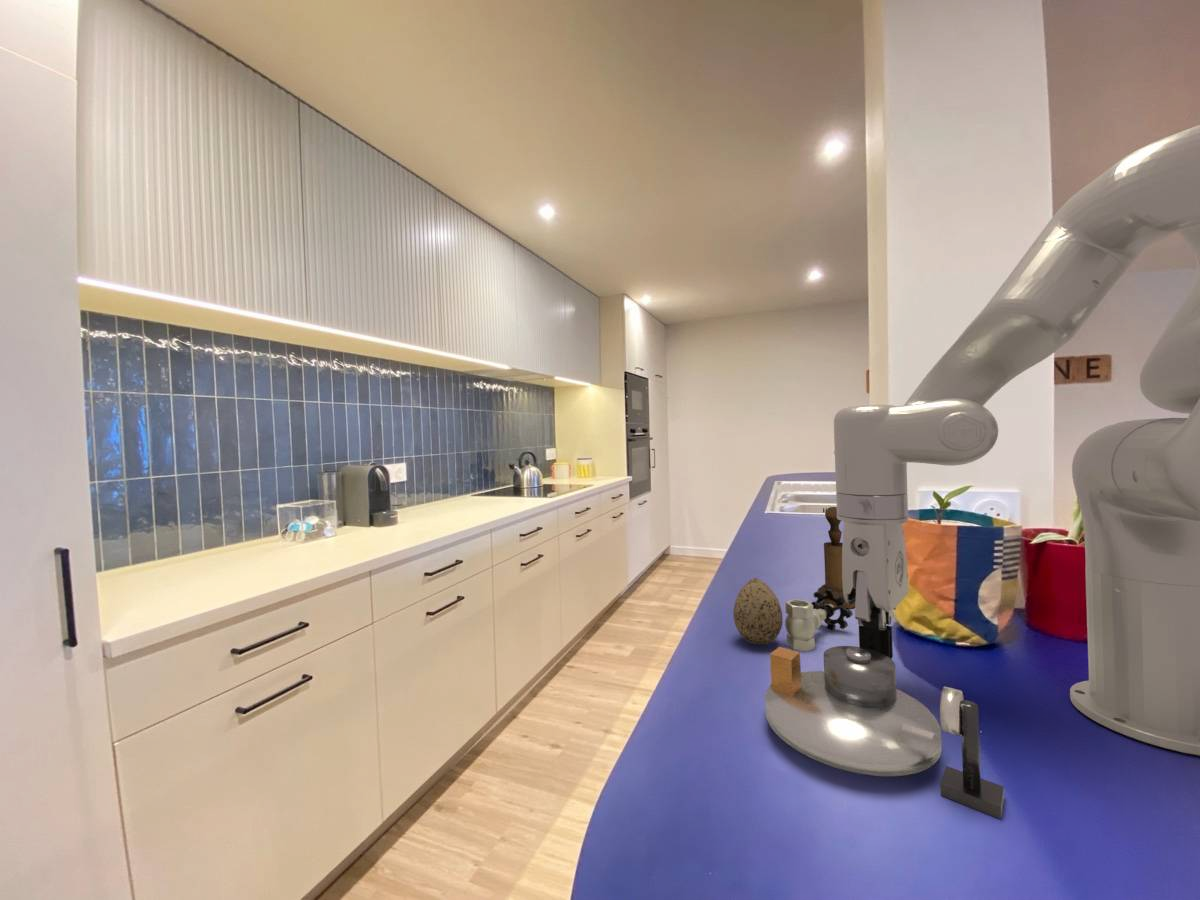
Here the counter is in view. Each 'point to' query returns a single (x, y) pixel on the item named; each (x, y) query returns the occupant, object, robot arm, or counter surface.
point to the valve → (812, 619)
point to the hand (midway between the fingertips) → (876, 657)
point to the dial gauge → (967, 757)
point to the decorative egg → (757, 613)
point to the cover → (860, 676)
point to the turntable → (848, 724)
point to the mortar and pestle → (833, 559)
